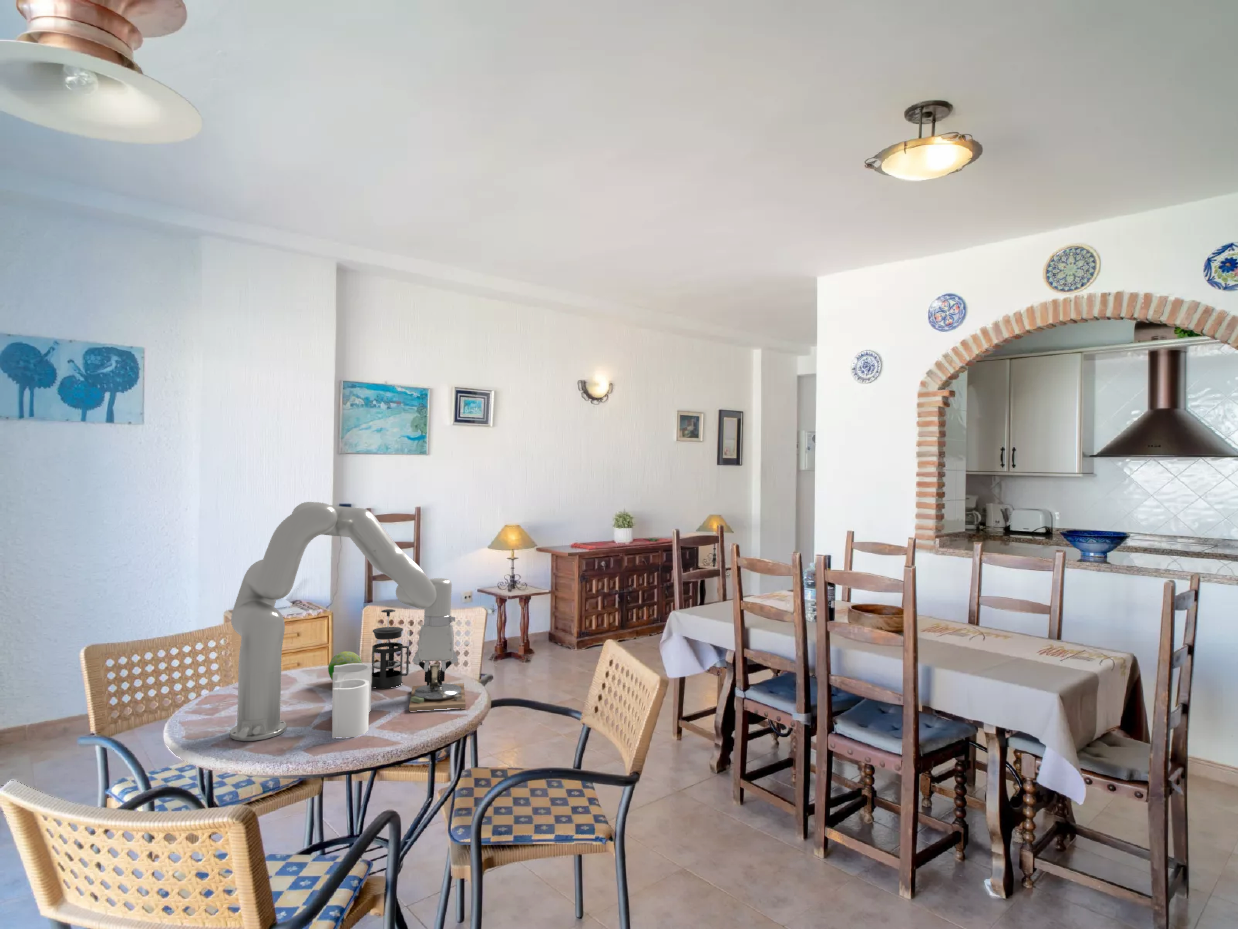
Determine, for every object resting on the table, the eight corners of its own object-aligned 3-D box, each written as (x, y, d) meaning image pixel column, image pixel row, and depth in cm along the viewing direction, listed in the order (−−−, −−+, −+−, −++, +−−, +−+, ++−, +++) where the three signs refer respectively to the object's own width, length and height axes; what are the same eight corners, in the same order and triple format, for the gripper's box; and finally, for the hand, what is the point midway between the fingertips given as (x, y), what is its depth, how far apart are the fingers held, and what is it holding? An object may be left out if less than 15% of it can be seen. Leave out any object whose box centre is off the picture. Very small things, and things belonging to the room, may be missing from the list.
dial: (467, 697, 199) (467, 672, 199) (420, 704, 193) (421, 678, 193) (454, 684, 211) (455, 661, 211) (410, 690, 205) (410, 666, 205)
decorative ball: (367, 680, 221) (367, 648, 221) (353, 689, 211) (354, 656, 211) (336, 679, 221) (337, 647, 222) (321, 688, 211) (322, 655, 212)
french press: (364, 689, 211) (365, 612, 212) (373, 680, 221) (375, 606, 221) (403, 689, 212) (405, 612, 212) (411, 680, 221) (413, 607, 222)
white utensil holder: (371, 736, 174) (372, 687, 174) (328, 740, 170) (329, 690, 171) (370, 705, 197) (371, 661, 197) (333, 708, 194) (334, 664, 194)
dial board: (465, 709, 195) (465, 700, 195) (409, 712, 191) (409, 703, 191) (463, 688, 214) (464, 679, 214) (412, 690, 210) (412, 682, 210)
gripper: (465, 618, 212) (462, 680, 212) (409, 618, 209) (406, 681, 208) (465, 623, 205) (463, 687, 204) (407, 623, 201) (404, 688, 201)
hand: (434, 683), depth 206 cm, fingers closed on dial, 3 cm apart
